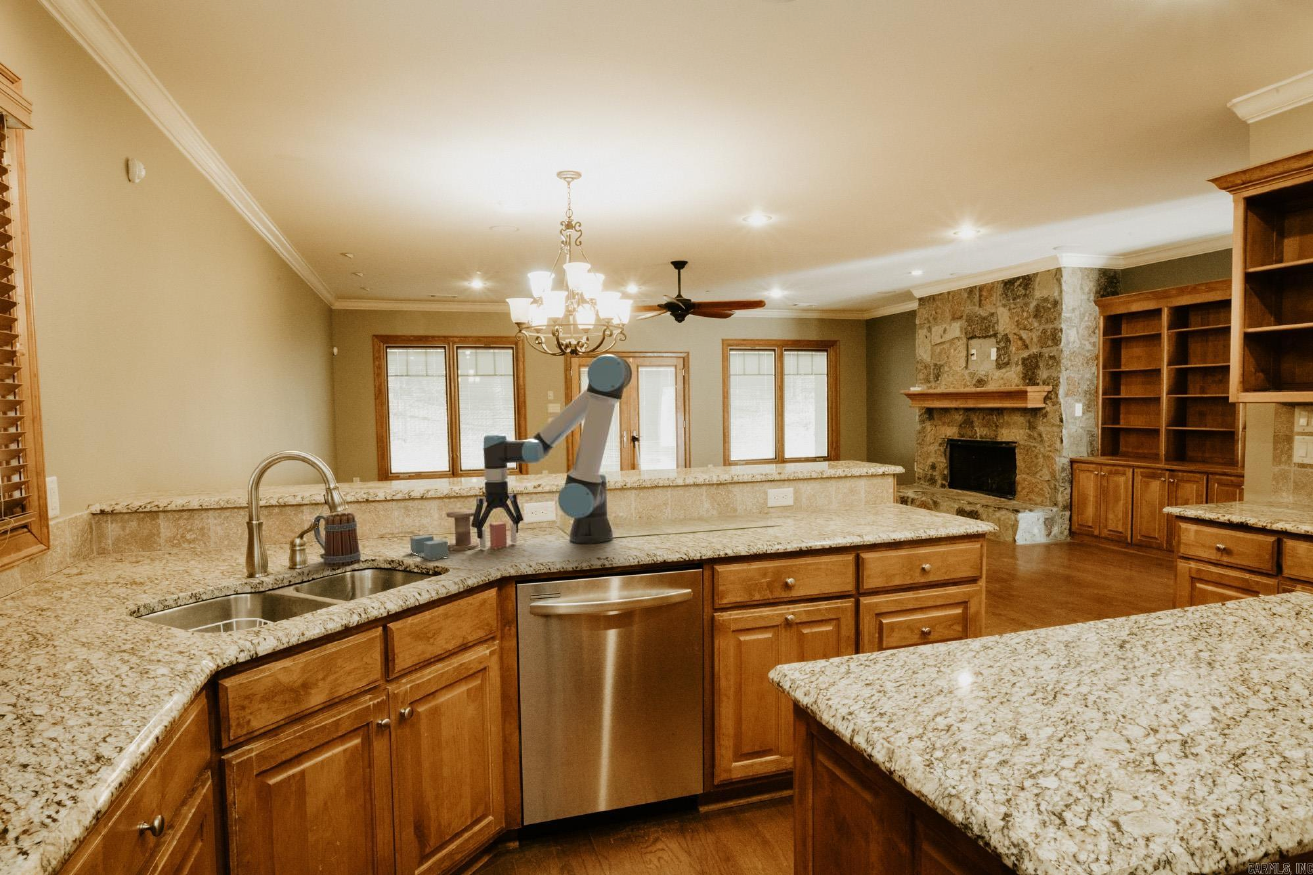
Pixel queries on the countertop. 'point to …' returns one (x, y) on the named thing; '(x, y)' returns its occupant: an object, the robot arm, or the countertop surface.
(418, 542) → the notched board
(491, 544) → the red rectangular block
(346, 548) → the mug
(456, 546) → the bobbin
